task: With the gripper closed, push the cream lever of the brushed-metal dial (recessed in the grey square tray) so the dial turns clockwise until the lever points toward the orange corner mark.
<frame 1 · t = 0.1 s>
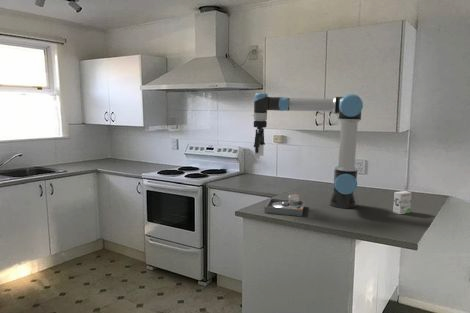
hand: (259, 157, 217), 28 cm above the worktop, fingers open, 13 cm apart
ink box: (401, 212, 209), on the worktop
dial: (285, 201, 209), point 5 cm above the worktop, hinge at 0.0°
grey square tray: (285, 209, 209), on the worktop
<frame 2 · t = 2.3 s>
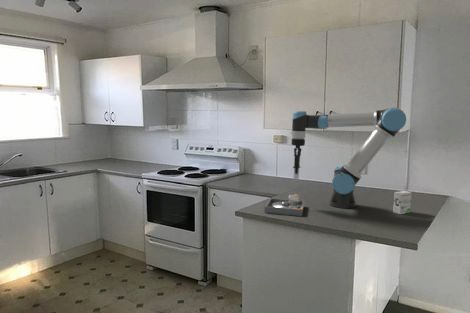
hand: (296, 179, 215), 16 cm above the worktop, fingers closed
nothing on the worktop moved.
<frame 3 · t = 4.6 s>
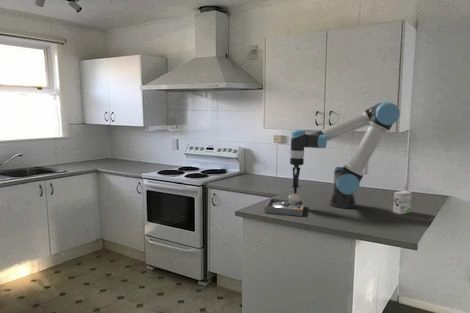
hand: (295, 198, 213), 5 cm above the worktop, fingers closed
dial: (285, 201, 209), point 5 cm above the worktop, hinge at -0.1°, touching gripper
everything else where it was.
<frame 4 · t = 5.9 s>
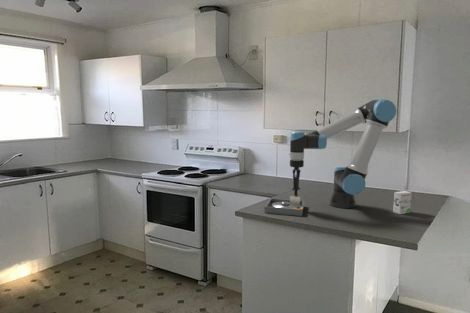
hand: (295, 201, 209), 5 cm above the worktop, fingers closed
dial: (285, 201, 208), point 5 cm above the worktop, hinge at -36.0°, touching gripper
everything else where it was.
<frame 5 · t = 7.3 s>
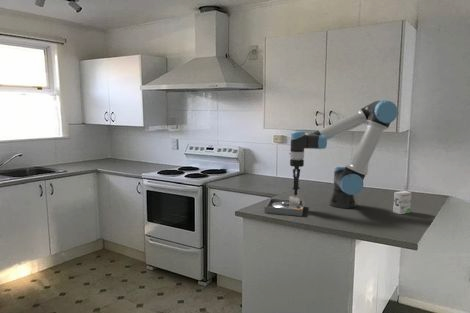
hand: (295, 200, 210), 5 cm above the worktop, fingers closed
dial: (285, 201, 208), point 5 cm above the worktop, hinge at -50.9°
everything else where it was.
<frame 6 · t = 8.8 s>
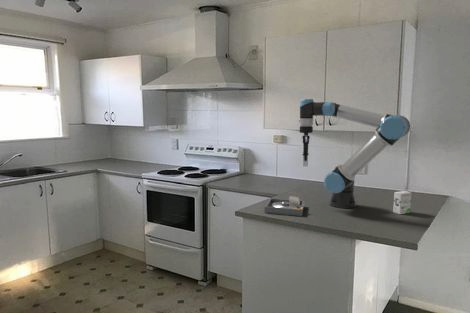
hand: (305, 166, 218), 23 cm above the worktop, fingers closed
nothing on the worktop moved.
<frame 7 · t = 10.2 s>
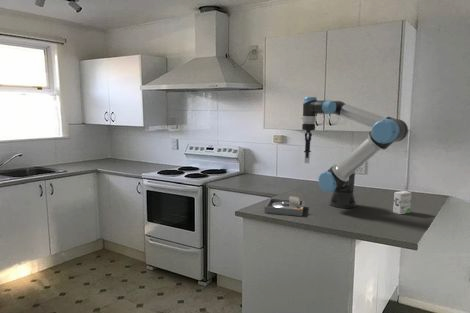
hand: (306, 163, 222), 24 cm above the worktop, fingers closed
nothing on the worktop moved.
at the end: dial at -51° (first picture: +0°); dial touching nothing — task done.
